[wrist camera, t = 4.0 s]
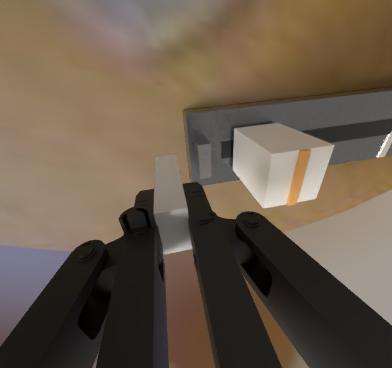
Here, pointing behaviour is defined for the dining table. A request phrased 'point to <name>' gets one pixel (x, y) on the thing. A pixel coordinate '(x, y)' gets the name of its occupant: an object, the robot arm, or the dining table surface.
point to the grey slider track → (294, 118)
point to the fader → (280, 163)
